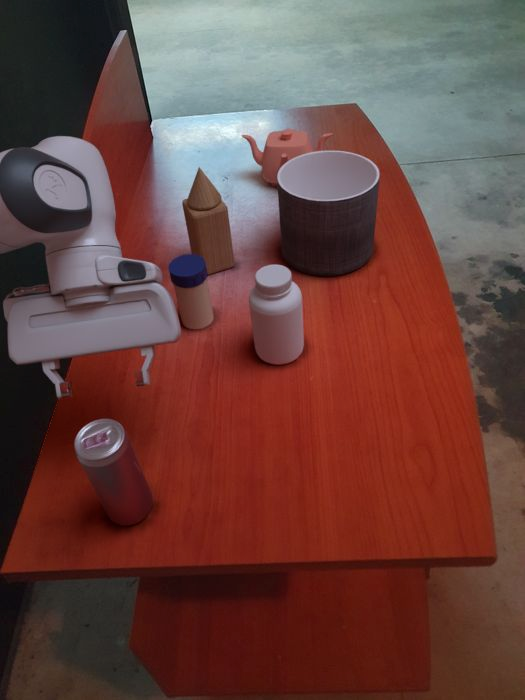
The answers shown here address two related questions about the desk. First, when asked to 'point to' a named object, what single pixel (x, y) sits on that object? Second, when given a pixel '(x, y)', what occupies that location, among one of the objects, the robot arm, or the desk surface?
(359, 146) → the desk surface
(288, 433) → the desk surface
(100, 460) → the beverage can
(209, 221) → the decorative item
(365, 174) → the planter
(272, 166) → the teapot
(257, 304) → the pill bottle
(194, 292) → the jar
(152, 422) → the desk surface
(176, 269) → the jar lid
